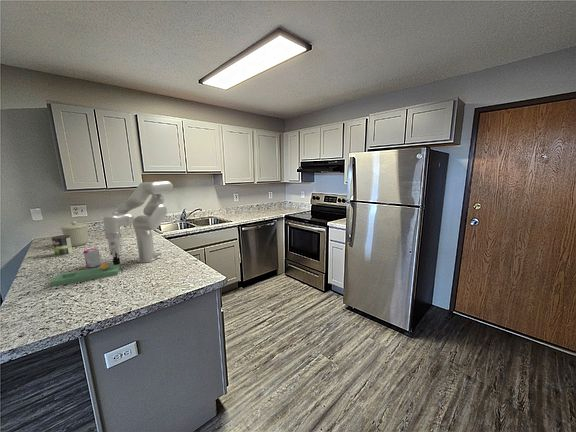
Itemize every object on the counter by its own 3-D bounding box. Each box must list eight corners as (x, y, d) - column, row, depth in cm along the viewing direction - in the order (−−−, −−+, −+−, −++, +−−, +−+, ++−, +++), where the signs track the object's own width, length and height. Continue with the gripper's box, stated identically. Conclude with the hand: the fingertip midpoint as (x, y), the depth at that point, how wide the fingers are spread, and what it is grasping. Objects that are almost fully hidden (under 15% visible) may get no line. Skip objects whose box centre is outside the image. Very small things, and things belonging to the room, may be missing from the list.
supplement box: (101, 264, 159) (99, 248, 157) (92, 268, 153) (89, 251, 151) (95, 264, 160) (92, 248, 158) (86, 267, 155) (82, 250, 153)
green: (120, 267, 153) (119, 264, 153) (117, 274, 143) (117, 270, 142) (58, 278, 139) (58, 274, 139) (51, 286, 129) (50, 282, 128)
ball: (109, 267, 147) (108, 261, 146) (108, 270, 143) (107, 263, 143) (101, 269, 145) (100, 263, 144) (99, 271, 142) (98, 265, 141)
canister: (79, 247, 198) (74, 223, 194) (58, 248, 198) (53, 223, 194) (96, 241, 216) (92, 219, 212) (77, 241, 216) (73, 219, 212)
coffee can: (61, 257, 176) (57, 238, 173) (51, 256, 178) (47, 238, 175) (76, 252, 185) (73, 235, 183) (66, 251, 188) (63, 234, 185)
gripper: (118, 237, 139) (122, 266, 142) (122, 232, 152) (125, 259, 155) (103, 238, 135) (107, 269, 138) (107, 233, 148) (111, 261, 151)
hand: (116, 264), depth 146 cm, fingers closed
